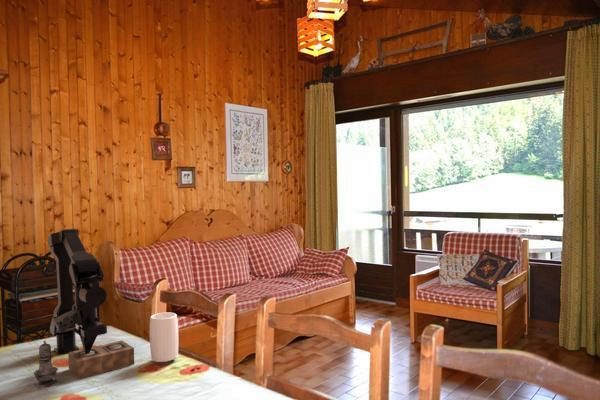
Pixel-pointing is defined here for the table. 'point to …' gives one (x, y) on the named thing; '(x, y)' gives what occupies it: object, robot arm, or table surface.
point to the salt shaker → (45, 367)
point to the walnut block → (101, 359)
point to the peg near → (87, 353)
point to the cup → (164, 336)
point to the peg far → (114, 347)
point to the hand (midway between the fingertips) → (87, 353)
